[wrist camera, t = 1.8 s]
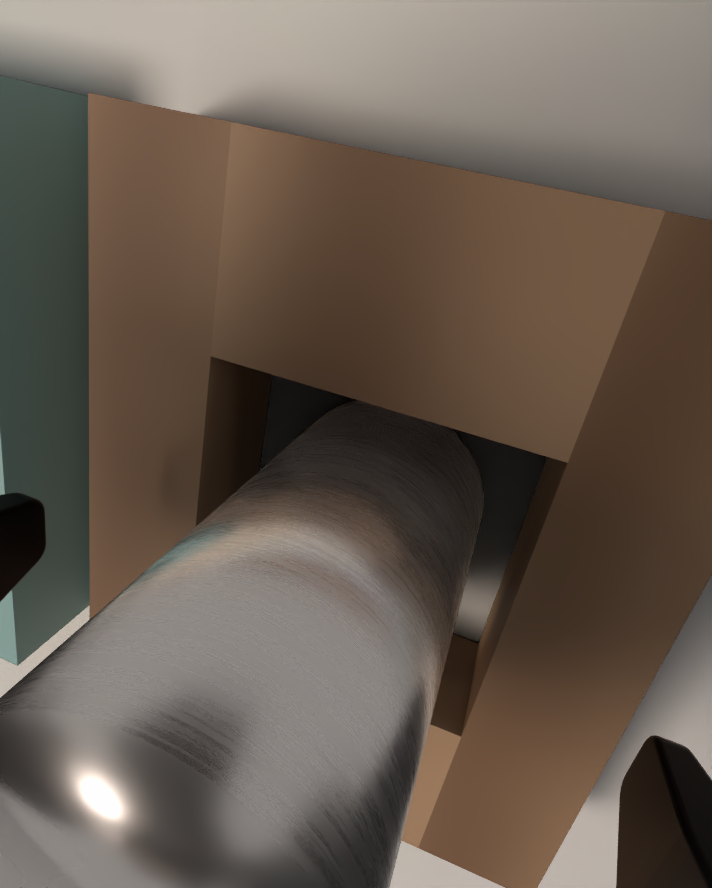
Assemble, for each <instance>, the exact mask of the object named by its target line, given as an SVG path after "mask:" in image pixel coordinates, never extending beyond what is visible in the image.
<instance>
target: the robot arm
mask: <svg viewBox="0 0 712 888" xmlns="http://www.w3.org/2000/svg"><path fill="white" fill-rule="evenodd" d="M45 548H46V522H45V507H44V505H43V503H42V502H41V501H39V500H38V499H35V498H33V497H30V496H27V495H25V494H22V493H9V494H3V495H0V602H1V601H2V600H3V599H4V598H5V597H6V595H7V594H8V593H9V592H10V591H11V590H12V589H13V588H14V587H15V586H16V585H17V584H18V583H19V582H20V580H21V579H22V578H23V577H24V576H25V575H26V574H27V573H28V572H29V571H30V570H31V569H32V568H33V567H34V566H35V564H36V563H37V562H38V561H39V560H40V559H41V557H42V556H43V554H44V551H45ZM616 888H712V780H711V778H710V777H709V775H708V774H707V773H706V771H705V770H704V769H703V767H702V766H701V764H700V763H699V762H698V760H697V759H696V758H695V756H694V755H693V754H692V752H691V751H690V750H689V749H688V748H686V747H685V746H683V745H681V744H678V743H675V742H673V741H670V740H668V739H665V738H662V737H660V736H650V737H649V738H648V739H647V740H646V741H645V742H644V744H643V746H642V747H641V749H640V751H639V753H638V754H637V756H636V758H635V760H634V761H633V763H632V765H631V766H630V768H629V770H628V772H627V773H626V775H625V777H624V780H623V782H622V786H621V792H620V807H619V832H618V858H617V884H616Z"/></svg>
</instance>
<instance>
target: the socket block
mask: <svg viewBox="0 0 712 888" xmlns="http://www.w3.org/2000/svg"><path fill="white" fill-rule="evenodd" d="M88 237H89V558H90V619H91V618H92V617H93V616H95V615H96V614H97V613H98V612H99V611H100V610H101V609H102V608H104V607H105V606H106V605H107V604H108V603H109V602H110V601H112V600H113V599H114V598H115V597H116V596H117V595H118V594H120V593H121V592H122V591H123V590H124V589H125V588H126V587H128V586H129V585H130V584H131V583H132V582H133V581H134V580H136V579H137V578H138V577H139V576H140V575H141V574H142V573H144V572H145V571H146V570H147V569H148V568H149V567H150V566H152V565H153V564H154V563H155V562H156V561H157V560H158V559H160V558H161V557H162V556H163V555H164V554H165V553H166V552H168V551H169V550H170V549H171V548H172V547H173V546H174V545H175V544H177V543H178V542H179V541H180V540H181V539H182V538H183V537H185V536H186V535H187V534H188V533H189V532H190V531H191V530H193V529H194V528H195V527H196V526H197V525H198V524H199V523H201V522H202V521H203V520H204V519H205V518H206V517H207V516H209V515H210V514H211V513H212V512H213V511H214V510H215V509H217V508H218V507H219V506H220V505H221V504H222V503H223V502H225V501H226V500H227V499H228V498H229V497H230V496H231V495H233V494H234V493H235V492H236V491H237V490H238V489H239V488H241V487H242V486H243V485H244V484H245V483H246V482H247V481H248V480H250V479H251V478H252V477H253V476H254V475H255V474H256V473H258V472H259V467H260V460H261V452H262V445H263V438H264V430H265V423H266V416H267V408H268V401H269V394H270V386H271V379H272V375H275V376H279V377H282V378H285V379H289V380H292V381H295V382H299V383H302V384H305V385H309V386H312V387H315V388H319V389H322V390H325V391H329V392H332V393H336V394H339V395H342V396H346V397H349V398H352V399H356V400H359V401H362V402H366V403H369V404H372V405H376V406H379V407H382V408H386V409H389V410H392V411H396V412H399V413H402V414H406V415H409V416H413V417H416V418H419V419H423V420H426V421H429V422H433V423H436V424H439V425H443V426H446V427H449V428H453V429H456V430H459V431H463V432H466V433H469V434H473V435H476V436H479V437H483V438H486V439H490V440H493V441H496V442H500V443H503V444H506V445H510V446H513V447H516V448H520V449H523V450H526V451H530V452H533V453H536V454H540V455H543V456H546V457H547V460H546V462H545V465H544V468H543V471H542V473H541V476H540V479H539V481H538V484H537V487H536V489H535V492H534V495H533V498H532V500H531V503H530V506H529V508H528V511H527V514H526V516H525V519H524V522H523V525H522V527H521V530H520V533H519V535H518V538H517V541H516V543H515V546H514V549H513V552H512V554H511V557H510V560H509V562H508V565H507V568H506V571H505V573H504V576H503V579H502V581H501V584H500V587H499V589H498V592H497V595H496V598H495V600H494V603H493V606H492V608H491V611H490V614H489V616H488V619H487V622H486V625H485V627H484V630H483V633H482V635H481V638H480V641H479V643H475V642H473V641H470V640H467V639H465V638H462V637H459V636H457V635H454V634H452V638H451V642H450V646H449V650H448V654H447V658H446V662H445V666H444V670H443V674H442V678H441V682H440V686H439V690H438V694H437V698H436V702H435V706H434V710H433V714H432V719H431V723H430V727H429V731H428V735H427V739H426V743H425V747H424V751H423V755H422V759H421V763H420V767H419V771H418V775H417V779H416V783H415V787H414V791H413V795H412V799H411V803H410V807H409V811H408V815H407V819H406V823H405V827H404V831H403V835H402V839H401V840H402V841H404V842H406V843H409V844H411V845H413V846H415V847H417V848H420V849H422V850H424V851H426V852H428V853H431V854H433V855H435V856H437V857H439V858H442V859H444V860H446V861H448V862H450V863H453V864H455V865H457V866H459V867H461V868H464V869H466V870H468V871H470V872H472V873H475V874H477V875H479V876H481V877H483V878H486V879H488V880H490V881H492V882H494V883H497V884H499V885H501V886H503V887H505V888H537V887H538V885H539V883H540V882H541V880H542V878H543V876H544V875H545V873H546V871H547V869H548V867H549V866H550V864H551V862H552V860H553V858H554V857H555V855H556V853H557V851H558V849H559V848H560V846H561V844H562V842H563V840H564V839H565V837H566V835H567V833H568V831H569V830H570V828H571V826H572V824H573V822H574V821H575V819H576V817H577V815H578V813H579V812H580V810H581V808H582V806H583V804H584V803H585V801H586V799H587V797H588V796H589V794H590V792H591V790H592V788H593V787H594V785H595V783H596V781H597V779H598V778H599V776H600V774H601V772H602V770H603V769H604V767H605V765H606V763H607V761H608V760H609V758H610V756H611V754H612V752H613V751H614V749H615V747H616V745H617V743H618V742H619V740H620V738H621V736H622V734H623V733H624V731H625V729H626V727H627V726H628V724H629V722H630V720H631V718H632V717H633V715H634V713H635V711H636V709H637V708H638V706H639V704H640V702H641V700H642V699H643V697H644V695H645V693H646V691H647V690H648V688H649V686H650V684H651V682H652V681H653V679H654V677H655V675H656V673H657V672H658V670H659V668H660V666H661V664H662V663H663V661H664V659H665V657H666V655H667V654H668V652H669V650H670V648H671V647H672V645H673V643H674V641H675V639H676V638H677V636H678V634H679V632H680V630H681V629H682V627H683V625H684V623H685V621H686V620H687V618H688V616H689V614H690V612H691V611H692V609H693V607H694V605H695V603H696V602H697V600H698V598H699V596H700V594H701V593H702V591H703V589H704V587H705V585H706V584H707V582H708V580H709V578H710V577H711V575H712V220H707V219H702V218H697V217H692V216H687V215H682V214H677V213H673V212H668V211H663V210H658V209H653V208H648V207H643V206H638V205H634V204H629V203H624V202H619V201H614V200H609V199H604V198H599V197H595V196H590V195H585V194H580V193H575V192H570V191H565V190H560V189H556V188H551V187H546V186H541V185H536V184H531V183H526V182H521V181H517V180H512V179H507V178H502V177H497V176H492V175H487V174H482V173H478V172H473V171H468V170H463V169H458V168H453V167H448V166H443V165H438V164H434V163H429V162H424V161H419V160H414V159H409V158H404V157H399V156H395V155H390V154H385V153H380V152H375V151H370V150H365V149H360V148H356V147H351V146H346V145H341V144H336V143H331V142H326V141H321V140H317V139H312V138H307V137H302V136H297V135H292V134H287V133H282V132H278V131H273V130H268V129H263V128H258V127H253V126H248V125H243V124H239V123H234V122H229V121H224V120H219V119H214V118H209V117H204V116H200V115H195V114H190V113H185V112H180V111H175V110H170V109H165V108H161V107H156V106H151V105H146V104H141V103H136V102H131V101H126V100H122V99H117V98H112V97H107V96H102V95H97V94H92V93H88Z"/></svg>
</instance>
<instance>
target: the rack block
mask: <svg viewBox="0 0 712 888" xmlns="http://www.w3.org/2000/svg"><path fill="white" fill-rule="evenodd" d="M9 493H22V494H25V495H27V496H30V497H33V498H35V499H38V500H39V501H41V502H42V503H43V505H44V507H45V522H46V548H45V551H44V554H43V556H42V557H41V559H40V560H39V561H38V562H37V563H36V564H35V566H34V567H33V568H32V569H31V570H30V571H29V572H28V573H27V574H26V575H25V576H24V577H23V578H22V579H21V580H20V582H19V583H18V584H17V585H16V586H15V587H14V588H13V589H12V590H11V591H10V592H9V593H8V594H7V595H6V597H5V598H4V599H3V600H2V601H1V602H0V658H2V659H4V660H6V661H8V662H10V663H13V664H15V665H17V666H18V665H19V664H20V663H21V662H23V661H24V660H25V659H26V658H27V657H28V656H30V655H31V654H32V653H33V652H34V651H36V650H37V649H38V648H39V647H40V646H41V645H43V644H44V643H45V642H46V641H47V640H49V639H50V638H51V637H52V636H53V635H54V634H56V633H57V632H58V631H59V630H60V629H62V628H63V627H64V626H65V625H66V624H68V623H69V622H70V621H71V620H72V619H73V618H75V617H76V616H77V615H78V614H79V613H81V612H82V611H83V610H84V609H85V608H86V607H88V606H89V605H90V558H89V237H88V96H84V95H80V94H76V93H71V92H67V91H63V90H59V89H55V88H50V87H46V86H42V85H38V84H34V83H30V82H25V81H21V80H17V79H13V78H9V77H4V76H0V495H3V494H9Z"/></svg>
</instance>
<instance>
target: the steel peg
mask: <svg viewBox="0 0 712 888" xmlns="http://www.w3.org/2000/svg"><path fill="white" fill-rule="evenodd" d="M483 505H484V494H483V485H482V480H481V476H480V473H479V470H478V467H477V464H476V462H475V460H474V458H473V457H472V455H471V453H470V451H469V450H468V448H467V447H466V445H465V444H464V442H463V441H462V440H461V439H460V438H459V436H458V435H457V434H456V433H455V432H454V431H453V430H452V429H451V428H449V427H446V426H443V425H439V424H436V423H433V422H429V421H426V420H423V419H419V418H416V417H413V416H409V415H406V414H402V413H399V412H396V411H392V410H389V409H386V408H382V407H379V406H376V405H372V404H369V403H366V402H362V401H359V400H356V401H352V402H349V403H346V404H342V405H340V406H338V407H336V408H334V409H332V410H330V411H329V412H327V413H326V414H324V415H323V416H321V417H320V418H319V419H318V420H317V421H316V422H315V423H314V424H312V425H311V426H310V427H309V428H308V429H307V430H306V431H304V432H303V433H302V434H301V435H300V436H299V437H298V438H296V439H295V440H294V441H293V442H292V443H291V444H290V445H288V446H287V447H286V448H285V449H284V450H283V451H282V452H280V453H279V454H278V455H277V456H276V457H275V458H274V459H272V460H271V461H270V462H269V463H268V464H267V465H266V466H264V467H263V468H262V469H261V470H260V471H259V472H258V473H256V474H255V475H254V476H253V477H252V478H251V479H250V480H248V481H247V482H246V483H245V484H244V485H243V486H242V487H241V488H239V489H238V490H237V491H236V492H235V493H234V494H233V495H231V496H230V497H229V498H228V499H227V500H226V501H225V502H223V503H222V504H221V505H220V506H219V507H218V508H217V509H215V510H214V511H213V512H212V513H211V514H210V515H209V516H207V517H206V518H205V519H204V520H203V521H202V522H201V523H199V524H198V525H197V526H196V527H195V528H194V529H193V530H191V531H190V532H189V533H188V534H187V535H186V536H185V537H183V538H182V539H181V540H180V541H179V542H178V543H177V544H175V545H174V546H173V547H172V548H171V549H170V550H169V551H168V552H166V553H165V554H164V555H163V556H162V557H161V558H160V559H158V560H157V561H156V562H155V563H154V564H153V565H152V566H150V567H149V568H148V569H147V570H146V571H145V572H144V573H142V574H141V575H140V576H139V577H138V578H137V579H136V580H134V581H133V582H132V583H131V584H130V585H129V586H128V587H126V588H125V589H124V590H123V591H122V592H121V593H120V594H118V595H117V596H116V597H115V598H114V599H113V600H112V601H110V602H109V603H108V604H107V605H106V606H105V607H104V608H102V609H101V610H100V611H99V612H98V613H97V614H96V615H95V616H93V617H92V618H91V619H90V620H89V621H88V622H87V623H85V624H84V625H83V626H82V627H81V628H80V629H79V630H77V631H76V632H75V633H74V634H73V635H72V636H71V637H69V638H68V639H67V640H66V641H65V642H64V643H63V644H61V645H60V646H59V647H58V648H57V649H56V650H55V651H53V652H52V653H51V654H50V655H49V656H48V657H47V658H45V659H44V660H43V661H42V662H41V663H40V664H39V665H37V666H36V667H35V668H34V669H33V670H32V671H31V672H29V673H28V674H27V675H26V676H25V677H24V678H23V679H22V680H20V681H19V682H18V683H17V684H16V685H15V686H14V687H12V688H11V689H10V690H9V691H8V692H7V693H6V694H4V695H3V696H2V697H1V698H0V888H389V887H390V883H391V879H392V875H393V871H394V867H395V863H396V859H397V855H398V851H399V847H400V843H401V839H402V835H403V831H404V827H405V823H406V819H407V815H408V811H409V807H410V803H411V799H412V795H413V791H414V787H415V783H416V779H417V775H418V771H419V767H420V763H421V759H422V755H423V751H424V747H425V743H426V739H427V735H428V731H429V727H430V723H431V719H432V714H433V710H434V706H435V702H436V698H437V694H438V690H439V686H440V682H441V678H442V674H443V670H444V666H445V662H446V658H447V654H448V650H449V646H450V642H451V638H452V634H453V630H454V626H455V622H456V618H457V614H458V610H459V606H460V602H461V598H462V594H463V590H464V586H465V582H466V578H467V574H468V570H469V566H470V562H471V558H472V554H473V550H474V546H475V542H476V538H477V534H478V530H479V526H480V522H481V518H482V514H483Z"/></svg>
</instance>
